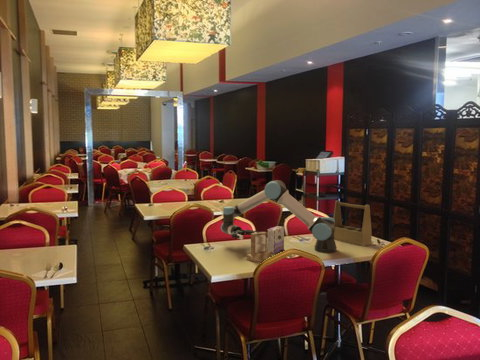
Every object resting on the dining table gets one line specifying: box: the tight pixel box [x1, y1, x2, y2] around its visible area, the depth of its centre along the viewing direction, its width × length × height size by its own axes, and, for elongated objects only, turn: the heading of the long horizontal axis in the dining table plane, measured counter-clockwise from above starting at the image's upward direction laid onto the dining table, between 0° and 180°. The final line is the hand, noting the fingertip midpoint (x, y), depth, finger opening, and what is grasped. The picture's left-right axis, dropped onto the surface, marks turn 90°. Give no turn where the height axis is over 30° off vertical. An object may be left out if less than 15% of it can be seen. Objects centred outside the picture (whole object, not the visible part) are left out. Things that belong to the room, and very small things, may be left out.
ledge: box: [246, 251, 273, 263], centre depth 288 cm, size 14×8×5 cm, turn 120°
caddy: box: [332, 200, 373, 247], centre depth 337 cm, size 29×11×30 cm, turn 37°
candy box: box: [266, 225, 285, 255], centre depth 308 cm, size 14×6×16 cm, turn 145°
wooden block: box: [250, 231, 267, 256], centre depth 288 cm, size 10×4×14 cm, turn 120°
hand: (251, 236), depth 296 cm, fingers open, 13 cm apart
